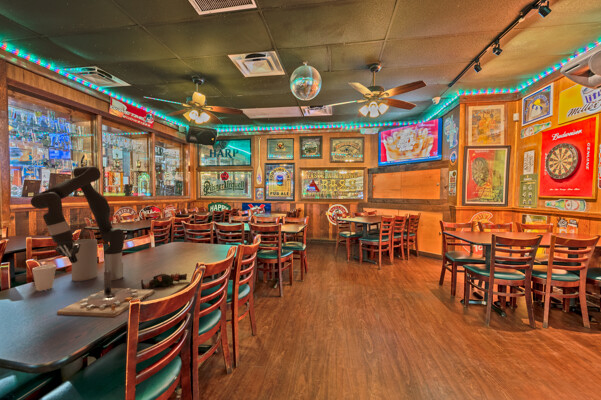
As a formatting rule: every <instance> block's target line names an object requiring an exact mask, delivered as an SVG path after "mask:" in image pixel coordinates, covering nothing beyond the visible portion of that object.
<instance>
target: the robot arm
mask: <svg viewBox="0 0 601 400" xmlns="http://www.w3.org/2000/svg"><path fill="white" fill-rule="evenodd" d="M72 172H73V177H72V178H69V179H66V180H63V181H62V182H59V183H57V184H56V185H54V186H52V187H51V188H48V189H46V190H44V191H41V192H39V193H36V194H35V195H34V196H33V197H32V198H31V199H30V204H31V206H32V207H33V208H35V209H41V210H43V209H48V211H47V212H46V213H44V214H43V215H42V218H43V221H44V222H45V225H46V227H47V231H48V233H49V235H50V237H51V240H52V241H53V244H56V246H57V247H56V248H54V251H55V252H57V253H58V254H59V255H61V256H62V257H64V258H65V257H66V258H68V261H69V262H70V263H71V264H72V263H75V262H77V261H78V259H77V257H76V254H77V253H78V252H79V248H80V243H78V244H76V243H75V241H76V240H74V234H73V232H72V230H71V227H70V225H69V223H68V222H67V220H66V218H65V215H64V213H63V201H62V200H63V199H65V198H67V197H68V196H70V195H71V194H73V193H74V192H76V191H77V190H79V189H81V191H82V193H83V195H84V198H85V200H86V201H87V204H88V206H89V209H90V211H91V213H92V215H93V217H94V219H95V222H96V224H97V226H98V230H99V234H100V237H101V239H102V240H103V241H104V242H105V243H109V244H108V245H109V246H108V247H107V248H105V249H104V272H106V271H111V282H112V281H117V280H120V279H122V278H123V277H124V262H123V248H124V245H125V244H124V243H125V233H124V230H122V229H120V228H114V227H113V226H112V224H111V221H110V216H111V207H110V205H109V202H108V199H107V198H106V197H105V196H104V195H103V194H101V193H99V192H98V191H97V189H95V187H94V186H93V185H92V183H94V182H96V181H99V179H101V171H100V169H99V168H98V167H96V166H93V165H88V166H77V167H75V168H74V169H73V171H72Z"/></svg>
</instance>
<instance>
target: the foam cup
mask: <svg viewBox="0 0 601 400" xmlns="http://www.w3.org/2000/svg"><path fill="white" fill-rule="evenodd" d="M56 269H57V265H56V264H45V265H39V266H36V267H32V269H31V270H32V277H33V280H34V285H35V289H36V291H37V290H38V291H37V292H43V291H42V290H45V291H48V290H47V289H49V290H51V289H53V285H54V279H55V275H56ZM50 288H51V289H50Z"/></svg>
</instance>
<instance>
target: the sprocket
mask: <svg viewBox="0 0 601 400" xmlns="http://www.w3.org/2000/svg"><path fill="white" fill-rule="evenodd" d="M111 288H112V281H111V271H106V272H105V271H104V272H103V290H104V291H103V290H101V291H102V293H100V294H97V295H95V294H96V293H93V294H90V295H89V296H88V297H89V299H85V298H83V299H81V300H82V301H81V303H82V304H80V307H85V306H87V307H86V309H88V310H90V309H92V308H94V307H100V309H104V308H105V307H106V306H111V305H114V304H115V306H118V305H120V303H122V302H124V301H130V300H132V298H131V297H136V296H138V293H137V290H132V291H131V289H132V287H127V288H124V289H125V290H120V289H121V287H117V289H115V290H113V291H111Z"/></svg>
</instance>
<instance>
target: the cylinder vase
mask: <svg viewBox="0 0 601 400" xmlns="http://www.w3.org/2000/svg"><path fill="white" fill-rule="evenodd" d="M74 241H75V243H76V244H78V243H80V248H79V252H78V253H77V254H76V257H77V259H78V261H77V262H75V263H71V280H72V281H73V282H85V281H88V280H89V281H90V280H92V279H95V278H97V276H98V239H96V238H87V239H85V238H84V239H77V240H76V239H75V240H74Z"/></svg>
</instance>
